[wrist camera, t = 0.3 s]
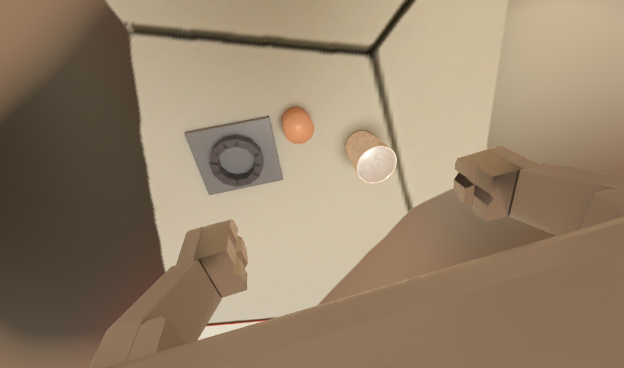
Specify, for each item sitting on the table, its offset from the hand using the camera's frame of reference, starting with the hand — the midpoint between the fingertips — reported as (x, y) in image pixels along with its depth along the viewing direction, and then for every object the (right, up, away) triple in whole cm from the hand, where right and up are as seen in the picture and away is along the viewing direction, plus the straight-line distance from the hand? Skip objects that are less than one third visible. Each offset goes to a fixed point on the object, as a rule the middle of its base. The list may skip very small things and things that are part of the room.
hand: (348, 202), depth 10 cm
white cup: (+9, +9, +51) cm, 53 cm away
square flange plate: (-17, +6, +48) cm, 51 cm away
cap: (-5, +13, +46) cm, 48 cm away
